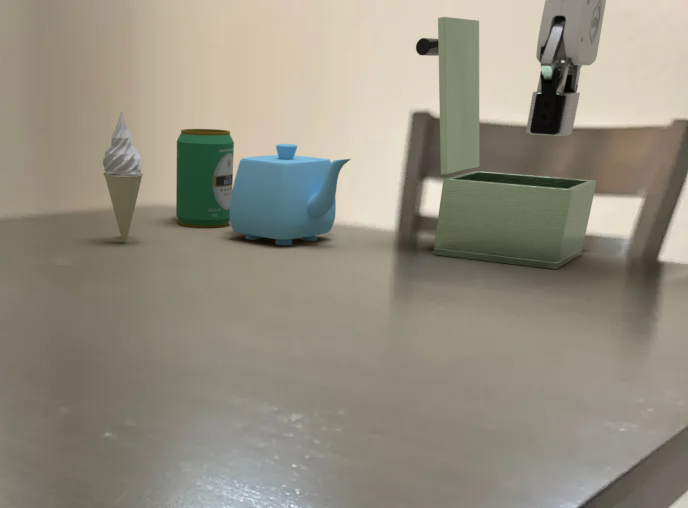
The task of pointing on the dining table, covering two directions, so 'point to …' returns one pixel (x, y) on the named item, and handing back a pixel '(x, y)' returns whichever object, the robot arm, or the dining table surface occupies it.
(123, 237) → the ice cream cone
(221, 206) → the beverage can
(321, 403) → the dining table surface
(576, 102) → the block
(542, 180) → the green open box
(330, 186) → the teapot
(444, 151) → the lid
